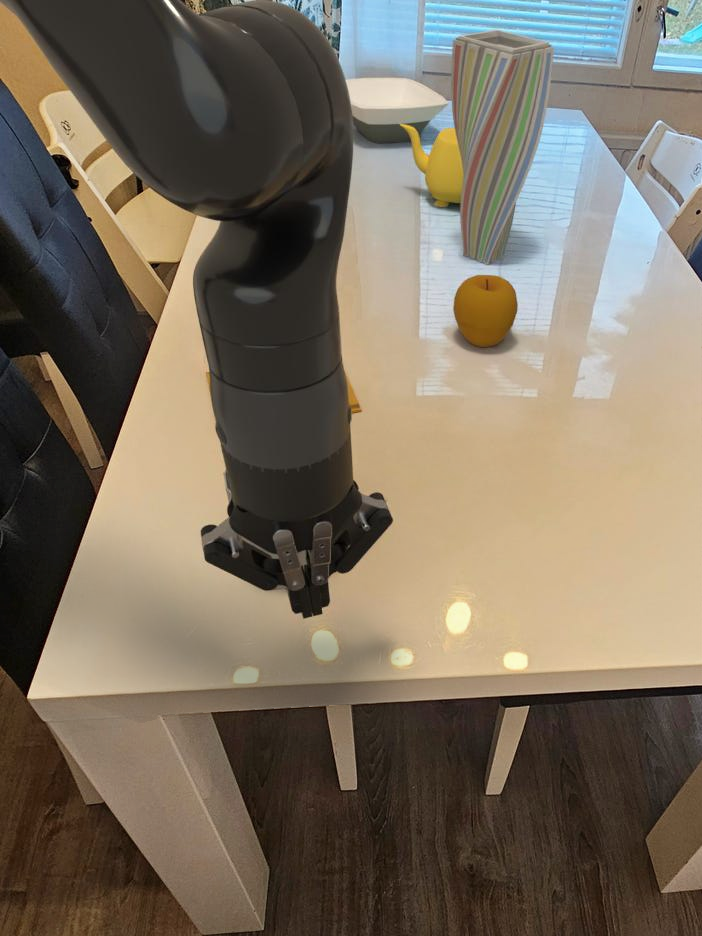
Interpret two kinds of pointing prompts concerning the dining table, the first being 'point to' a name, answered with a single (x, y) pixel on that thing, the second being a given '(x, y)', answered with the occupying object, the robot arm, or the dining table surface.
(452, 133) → the teapot
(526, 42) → the vase
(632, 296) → the dining table surface
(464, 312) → the apple
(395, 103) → the bowl
